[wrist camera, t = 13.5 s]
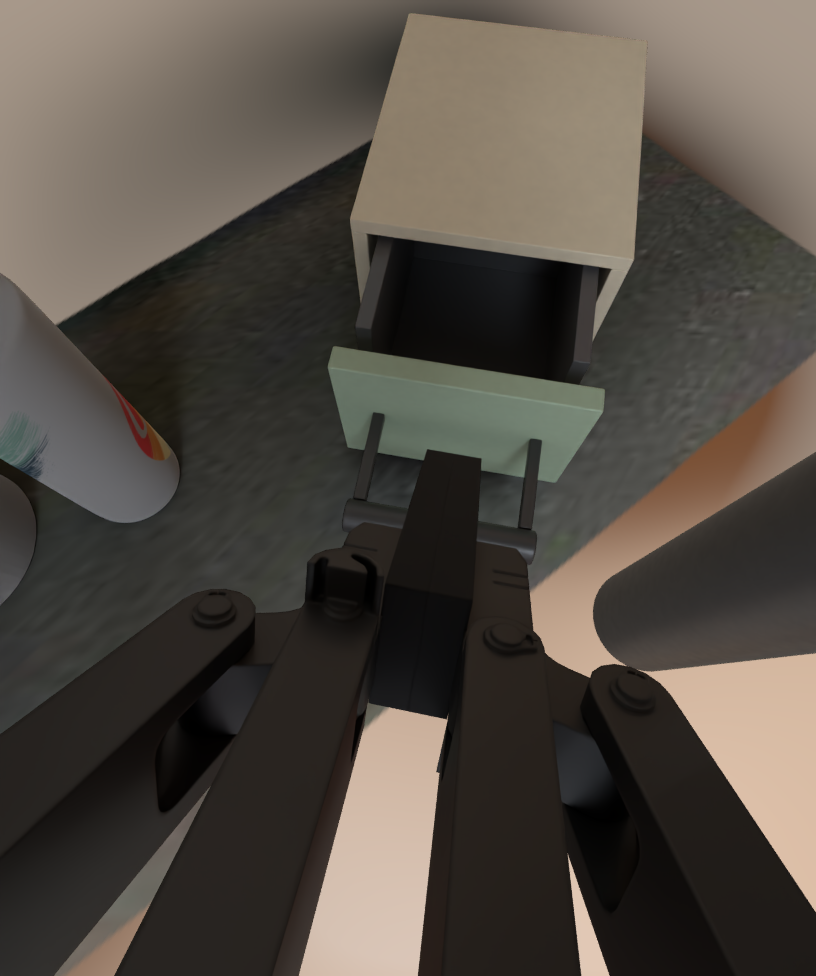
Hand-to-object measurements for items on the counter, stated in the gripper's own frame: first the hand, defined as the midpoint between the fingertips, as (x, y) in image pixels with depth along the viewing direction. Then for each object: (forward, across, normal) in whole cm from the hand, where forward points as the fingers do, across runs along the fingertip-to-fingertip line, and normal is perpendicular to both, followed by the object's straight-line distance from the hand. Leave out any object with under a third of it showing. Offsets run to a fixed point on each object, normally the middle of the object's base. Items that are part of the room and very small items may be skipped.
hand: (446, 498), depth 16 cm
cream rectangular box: (+28, 0, +4) cm, 29 cm away
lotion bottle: (+15, -19, -10) cm, 25 cm away
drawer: (+20, 0, -3) cm, 20 cm away
